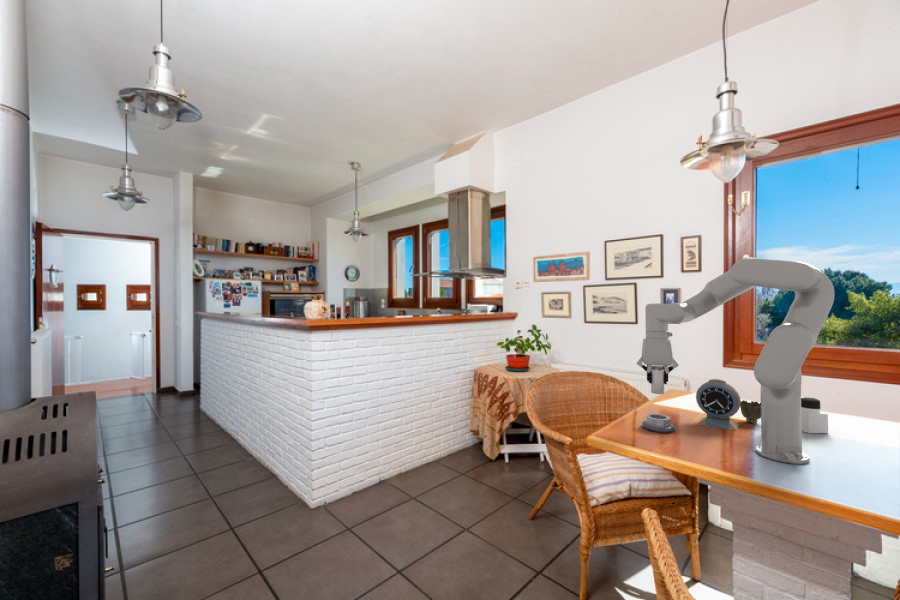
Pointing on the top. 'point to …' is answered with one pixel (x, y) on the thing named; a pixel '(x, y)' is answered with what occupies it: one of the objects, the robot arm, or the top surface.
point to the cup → (751, 411)
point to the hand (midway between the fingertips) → (657, 382)
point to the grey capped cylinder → (657, 380)
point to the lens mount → (658, 423)
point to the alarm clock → (718, 404)
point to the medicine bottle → (813, 416)
